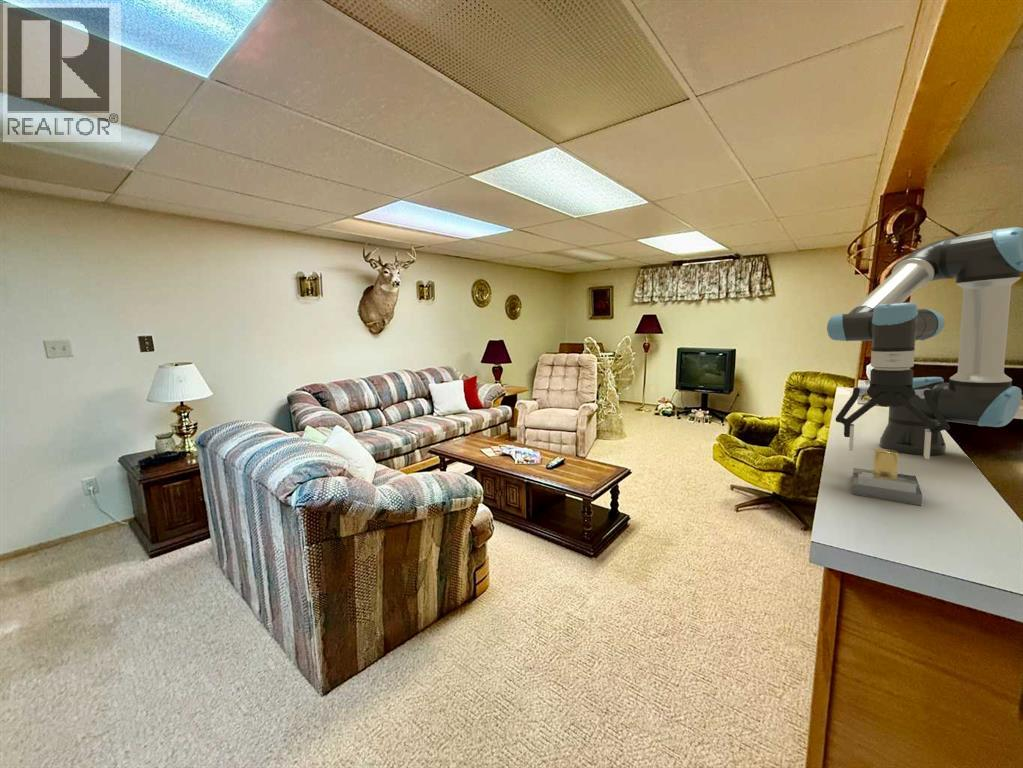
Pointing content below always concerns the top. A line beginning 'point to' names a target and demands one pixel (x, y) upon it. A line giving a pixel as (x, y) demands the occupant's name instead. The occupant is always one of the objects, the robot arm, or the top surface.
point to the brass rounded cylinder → (885, 463)
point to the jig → (886, 487)
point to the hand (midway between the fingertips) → (887, 453)
